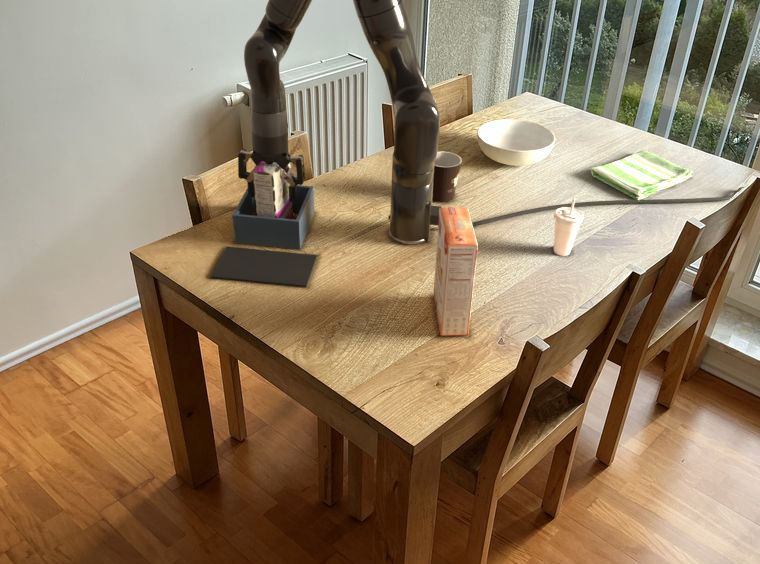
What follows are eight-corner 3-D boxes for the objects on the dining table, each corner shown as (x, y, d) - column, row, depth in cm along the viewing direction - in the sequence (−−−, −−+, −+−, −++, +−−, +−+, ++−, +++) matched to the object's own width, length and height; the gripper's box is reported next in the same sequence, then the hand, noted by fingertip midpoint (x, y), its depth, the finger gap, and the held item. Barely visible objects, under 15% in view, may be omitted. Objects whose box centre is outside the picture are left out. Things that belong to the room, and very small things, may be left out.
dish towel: (693, 179, 216) (696, 169, 214) (638, 202, 204) (641, 192, 202) (640, 154, 226) (642, 145, 224) (585, 175, 214) (587, 166, 212)
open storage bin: (314, 213, 190) (313, 186, 186) (300, 249, 177) (299, 221, 173) (253, 207, 191) (251, 180, 186) (234, 243, 178) (232, 215, 173)
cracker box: (431, 295, 166) (438, 205, 153) (460, 295, 167) (469, 205, 154) (438, 337, 155) (446, 243, 142) (468, 336, 156) (479, 244, 143)
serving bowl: (500, 135, 231) (502, 112, 227) (564, 156, 222) (568, 133, 218) (460, 158, 218) (462, 134, 213) (527, 182, 209) (530, 158, 204)
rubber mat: (317, 256, 175) (317, 255, 175) (306, 287, 166) (306, 285, 166) (226, 247, 176) (226, 246, 176) (210, 278, 167) (210, 276, 166)
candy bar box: (273, 214, 189) (269, 149, 178) (294, 217, 188) (291, 152, 178) (256, 238, 180) (251, 170, 170) (278, 241, 179) (274, 174, 169)
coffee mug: (439, 208, 195) (442, 170, 189) (416, 194, 200) (418, 157, 194) (473, 195, 202) (478, 158, 195) (450, 182, 207) (454, 145, 200)
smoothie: (558, 261, 179) (569, 205, 171) (542, 247, 184) (552, 192, 175) (581, 255, 182) (593, 200, 173) (565, 241, 186) (575, 187, 178)
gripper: (231, 132, 166) (236, 202, 176) (299, 139, 166) (301, 209, 176) (240, 118, 172) (245, 186, 182) (306, 124, 172) (307, 193, 182)
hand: (272, 197), depth 179 cm, fingers open, 8 cm apart
